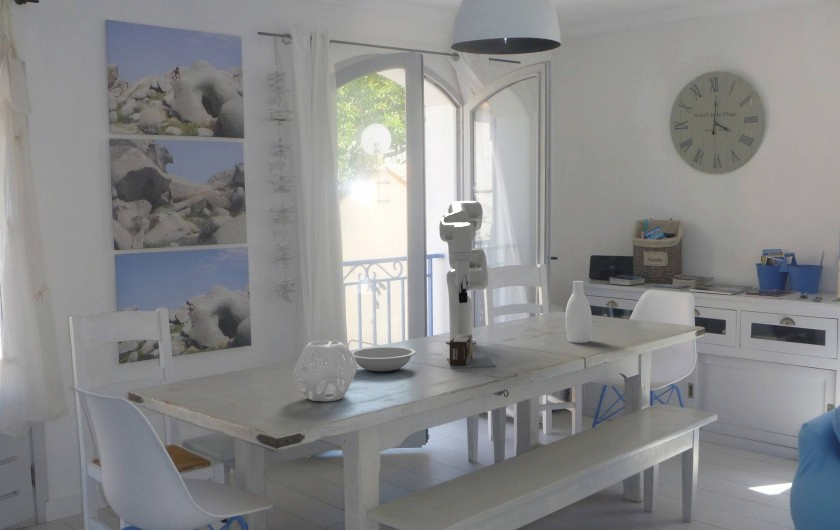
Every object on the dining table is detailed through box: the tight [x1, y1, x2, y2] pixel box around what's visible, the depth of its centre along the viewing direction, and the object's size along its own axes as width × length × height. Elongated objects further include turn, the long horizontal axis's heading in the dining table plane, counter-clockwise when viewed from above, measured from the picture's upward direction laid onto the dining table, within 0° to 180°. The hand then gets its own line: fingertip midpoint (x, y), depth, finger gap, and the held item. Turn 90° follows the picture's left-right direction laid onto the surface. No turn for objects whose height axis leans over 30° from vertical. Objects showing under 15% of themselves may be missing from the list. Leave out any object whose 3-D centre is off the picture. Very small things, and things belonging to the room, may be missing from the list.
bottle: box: [564, 280, 593, 344], centre depth 359 cm, size 11×11×25 cm
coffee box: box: [449, 333, 474, 367], centre depth 318 cm, size 9×6×16 cm
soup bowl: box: [351, 346, 417, 372], centre depth 307 cm, size 24×24×7 cm
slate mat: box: [446, 356, 497, 369], centre depth 318 cm, size 18×16×1 cm
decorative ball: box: [292, 340, 358, 403], centre depth 264 cm, size 20×20×17 cm
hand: (463, 302), depth 337 cm, fingers closed
